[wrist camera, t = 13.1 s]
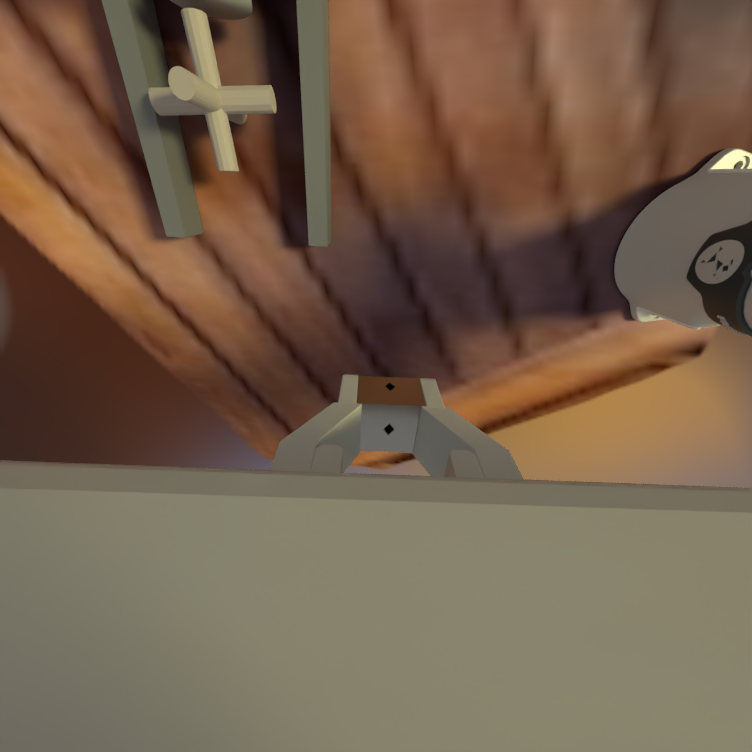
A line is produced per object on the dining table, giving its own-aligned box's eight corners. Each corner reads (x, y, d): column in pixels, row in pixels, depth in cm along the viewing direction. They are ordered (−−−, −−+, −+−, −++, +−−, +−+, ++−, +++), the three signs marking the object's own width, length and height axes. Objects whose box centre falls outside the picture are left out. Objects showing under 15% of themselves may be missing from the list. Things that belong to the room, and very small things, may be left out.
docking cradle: (327, -92, 24) (301, -245, 15) (331, 241, 36) (318, 257, 28) (102, -115, 23) (-55, -289, 15) (186, 231, 36) (127, 245, 27)
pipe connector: (203, 173, 33) (141, 169, 24) (169, 42, 28) (75, -23, 19) (295, 172, 33) (265, 167, 24) (279, 39, 28) (233, -27, 19)
